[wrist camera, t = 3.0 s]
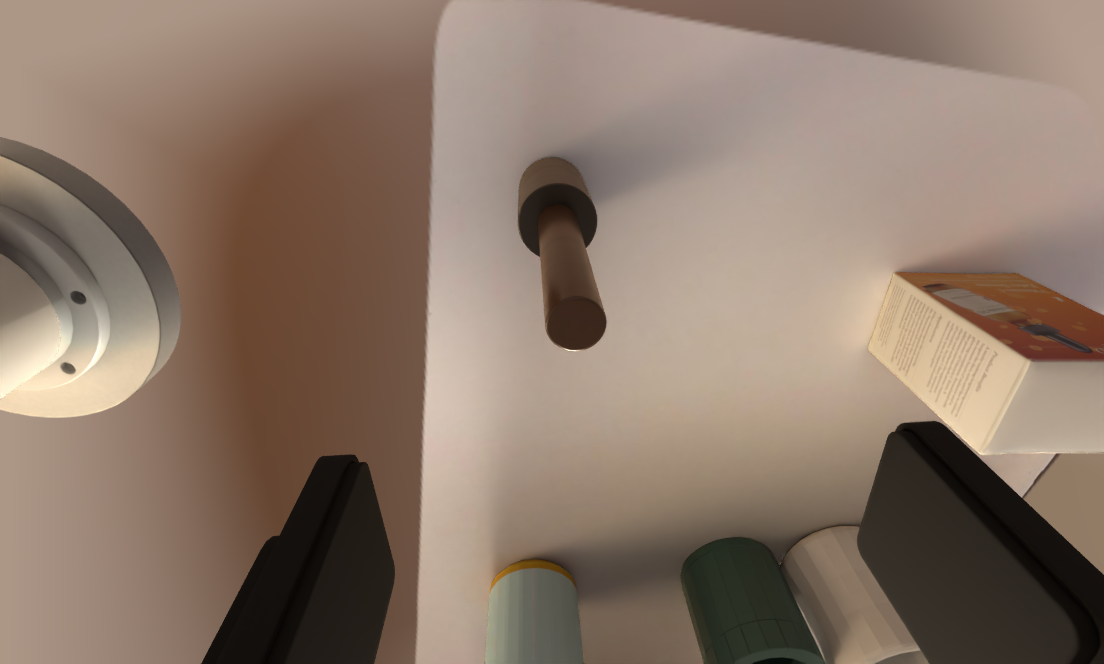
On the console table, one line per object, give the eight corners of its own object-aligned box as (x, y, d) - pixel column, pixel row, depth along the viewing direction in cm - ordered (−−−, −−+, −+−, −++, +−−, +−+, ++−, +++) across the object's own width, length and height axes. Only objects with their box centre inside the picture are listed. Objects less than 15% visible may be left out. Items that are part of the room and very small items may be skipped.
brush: (521, 224, 31) (519, 381, 17) (516, 158, 29) (509, 271, 15) (585, 221, 31) (636, 373, 17) (583, 155, 29) (639, 263, 15)
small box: (1017, 271, 34) (1204, 359, 25) (981, 350, 36) (1137, 457, 27) (890, 269, 33) (1032, 359, 24) (863, 350, 36) (981, 458, 27)
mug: (757, 590, 47) (812, 718, 38) (802, 513, 43) (875, 637, 34) (887, 605, 49) (968, 730, 40) (943, 532, 45) (1046, 654, 36)
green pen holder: (677, 604, 47) (708, 719, 39) (683, 540, 44) (718, 652, 36) (767, 598, 48) (816, 710, 40) (781, 533, 44) (837, 643, 36)
